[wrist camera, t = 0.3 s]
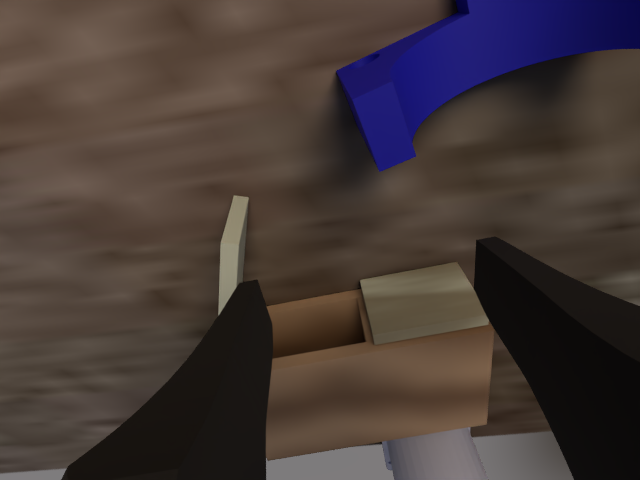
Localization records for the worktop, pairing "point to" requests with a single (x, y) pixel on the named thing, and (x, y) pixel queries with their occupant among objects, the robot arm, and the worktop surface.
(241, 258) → the door
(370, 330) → the cabinet
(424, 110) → the blue curved piece
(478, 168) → the worktop surface
